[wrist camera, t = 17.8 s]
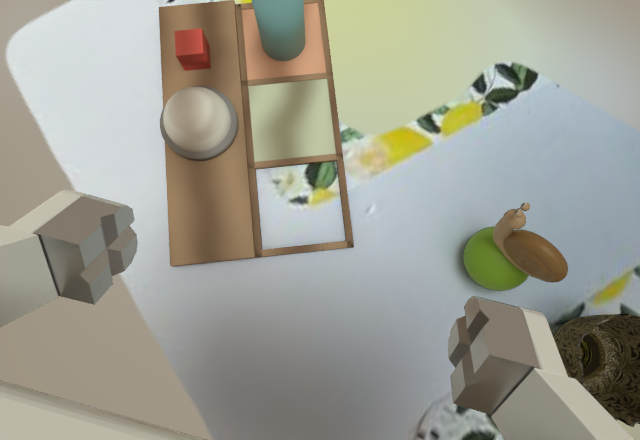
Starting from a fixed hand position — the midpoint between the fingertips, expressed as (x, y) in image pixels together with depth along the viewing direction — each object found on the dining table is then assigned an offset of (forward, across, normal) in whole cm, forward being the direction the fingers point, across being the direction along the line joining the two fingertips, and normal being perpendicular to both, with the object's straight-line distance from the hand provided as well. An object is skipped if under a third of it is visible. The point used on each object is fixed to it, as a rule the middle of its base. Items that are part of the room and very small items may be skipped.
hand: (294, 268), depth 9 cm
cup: (+19, -23, +19) cm, 35 cm away
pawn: (+34, +9, +3) cm, 35 cm away
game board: (+29, +10, +10) cm, 32 cm away
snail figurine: (+23, -14, +15) cm, 31 cm away
